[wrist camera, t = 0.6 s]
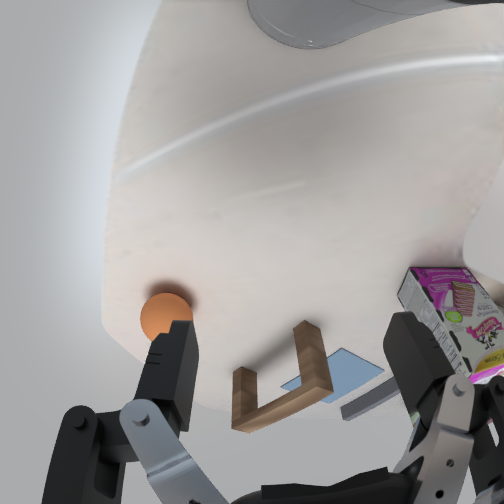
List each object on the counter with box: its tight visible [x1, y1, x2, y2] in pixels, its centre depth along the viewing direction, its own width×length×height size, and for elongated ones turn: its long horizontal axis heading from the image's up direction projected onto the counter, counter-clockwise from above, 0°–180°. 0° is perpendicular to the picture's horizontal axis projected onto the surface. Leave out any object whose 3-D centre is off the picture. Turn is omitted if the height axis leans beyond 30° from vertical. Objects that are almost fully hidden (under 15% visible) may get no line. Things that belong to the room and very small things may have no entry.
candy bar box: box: [397, 268, 504, 384], centre depth 25 cm, size 11×5×16 cm, turn 88°
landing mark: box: [281, 348, 384, 403], centre depth 43 cm, size 13×13×1 cm
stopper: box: [340, 377, 400, 421], centre depth 46 cm, size 2×14×3 cm, turn 142°
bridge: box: [232, 320, 334, 433], centre depth 34 cm, size 3×15×10 cm, turn 141°
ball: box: [140, 293, 193, 341], centre depth 30 cm, size 6×6×6 cm
